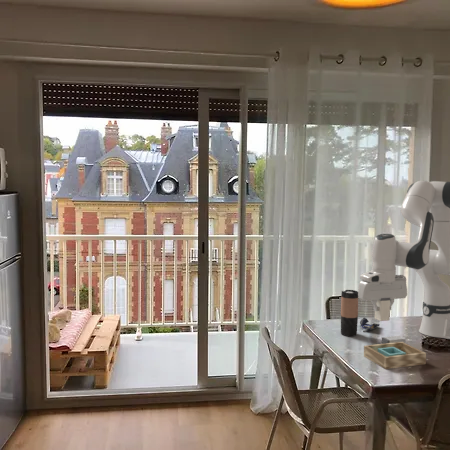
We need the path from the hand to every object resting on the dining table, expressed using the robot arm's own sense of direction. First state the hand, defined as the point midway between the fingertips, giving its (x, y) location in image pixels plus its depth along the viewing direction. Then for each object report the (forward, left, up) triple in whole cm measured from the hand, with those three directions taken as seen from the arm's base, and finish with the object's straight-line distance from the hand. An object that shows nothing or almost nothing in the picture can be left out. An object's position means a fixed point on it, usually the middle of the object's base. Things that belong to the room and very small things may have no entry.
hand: (382, 310), depth 183 cm
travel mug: (-5, -31, -19) cm, 36 cm away
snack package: (-19, -36, -20) cm, 45 cm away
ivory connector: (0, 0, -4) cm, 4 cm away
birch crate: (-4, +3, -19) cm, 20 cm away
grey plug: (-14, -10, -19) cm, 25 cm away
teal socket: (-2, +4, -19) cm, 20 cm away
